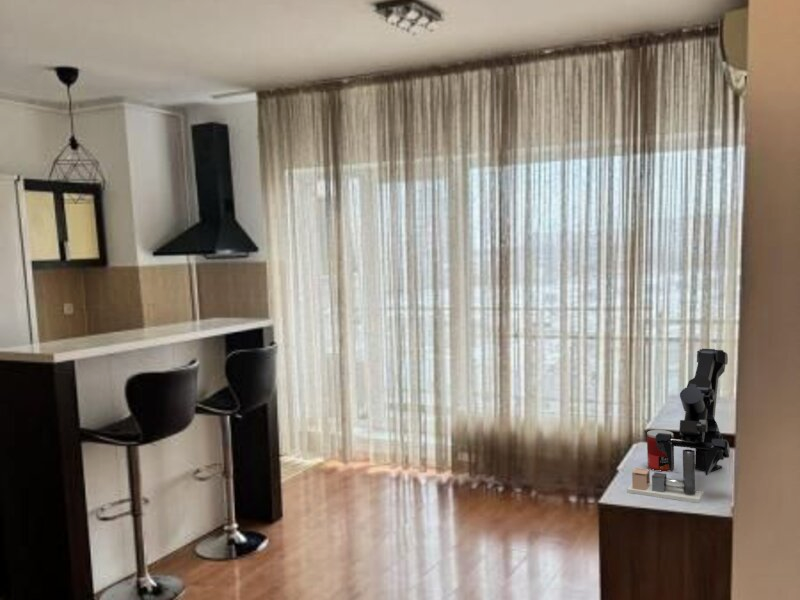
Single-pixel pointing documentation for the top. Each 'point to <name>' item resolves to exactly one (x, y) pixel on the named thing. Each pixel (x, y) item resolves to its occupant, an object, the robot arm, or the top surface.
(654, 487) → the sleeve
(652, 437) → the canned food
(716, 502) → the top surface
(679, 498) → the base board
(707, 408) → the robot arm
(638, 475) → the tan block
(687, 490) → the slide bolt
